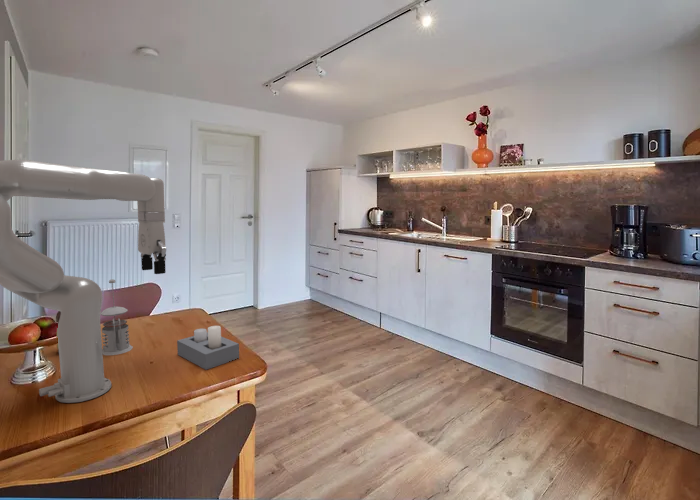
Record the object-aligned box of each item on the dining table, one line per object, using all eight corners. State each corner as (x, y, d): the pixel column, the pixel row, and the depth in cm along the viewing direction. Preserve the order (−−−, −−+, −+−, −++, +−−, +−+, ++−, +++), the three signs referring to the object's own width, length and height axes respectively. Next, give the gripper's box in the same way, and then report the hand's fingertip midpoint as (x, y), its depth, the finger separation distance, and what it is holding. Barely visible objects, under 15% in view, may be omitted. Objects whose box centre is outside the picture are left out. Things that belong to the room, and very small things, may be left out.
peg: (213, 360, 125) (211, 330, 124) (206, 357, 128) (205, 327, 127) (224, 356, 128) (223, 327, 127) (217, 353, 131) (216, 324, 130)
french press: (130, 342, 143) (126, 275, 139) (135, 352, 133) (131, 281, 130) (99, 348, 137) (93, 278, 134) (101, 359, 128) (96, 284, 124)
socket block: (206, 369, 121) (205, 345, 120) (177, 354, 132) (176, 331, 131) (239, 358, 130) (238, 335, 129) (210, 344, 141) (209, 323, 140)
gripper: (128, 216, 125) (130, 269, 127) (150, 218, 114) (152, 276, 116) (152, 216, 131) (154, 267, 133) (175, 218, 119) (177, 273, 121)
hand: (153, 271), depth 124 cm, fingers open, 9 cm apart
